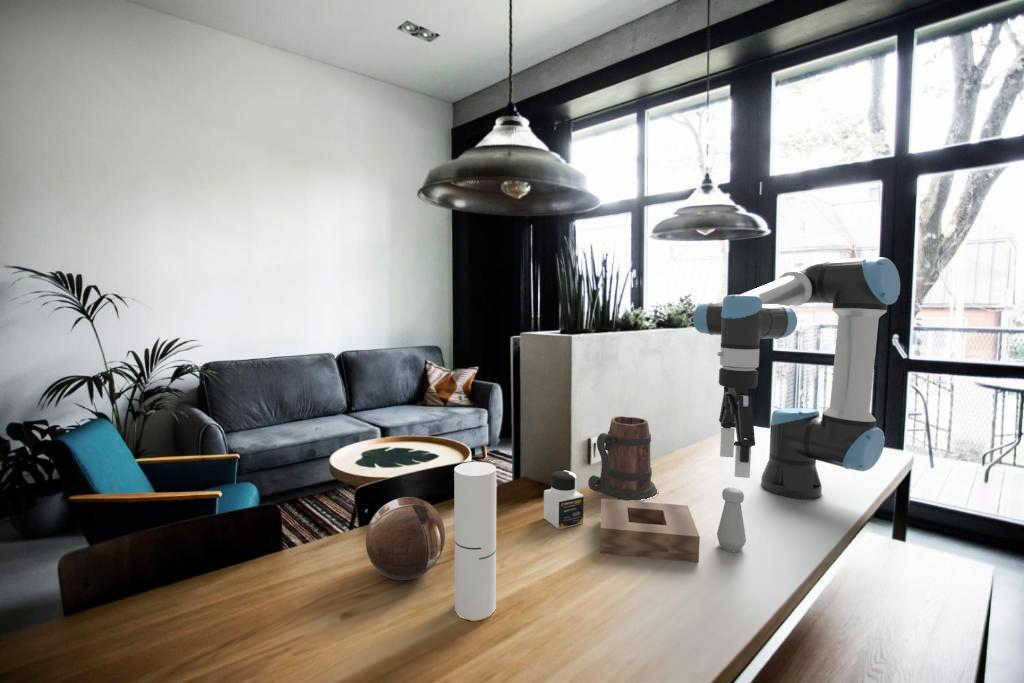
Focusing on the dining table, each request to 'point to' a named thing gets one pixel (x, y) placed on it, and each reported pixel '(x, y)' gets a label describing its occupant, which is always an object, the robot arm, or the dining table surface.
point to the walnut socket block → (648, 530)
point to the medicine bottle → (563, 501)
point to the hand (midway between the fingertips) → (733, 466)
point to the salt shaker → (732, 521)
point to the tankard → (625, 460)
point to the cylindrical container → (475, 539)
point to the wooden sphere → (405, 538)
